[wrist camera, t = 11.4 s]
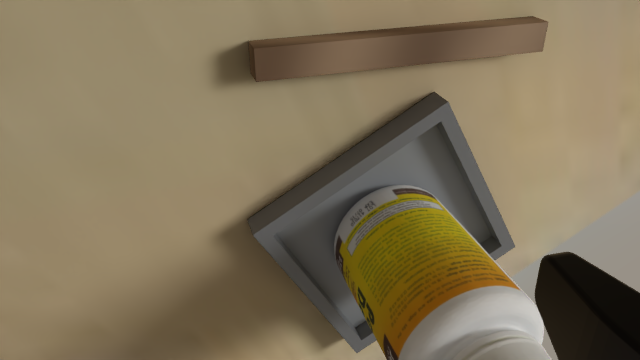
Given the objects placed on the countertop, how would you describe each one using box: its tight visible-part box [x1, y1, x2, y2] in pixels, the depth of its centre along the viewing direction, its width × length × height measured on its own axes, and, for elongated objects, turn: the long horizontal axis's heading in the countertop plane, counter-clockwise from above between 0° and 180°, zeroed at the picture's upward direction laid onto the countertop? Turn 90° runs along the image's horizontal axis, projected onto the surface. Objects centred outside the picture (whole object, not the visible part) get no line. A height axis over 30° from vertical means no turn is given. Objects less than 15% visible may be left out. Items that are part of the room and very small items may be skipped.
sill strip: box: [249, 16, 548, 82], centre depth 21 cm, size 12×1×1 cm, turn 91°
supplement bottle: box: [334, 185, 552, 360], centre depth 22 cm, size 6×6×10 cm
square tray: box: [247, 92, 515, 353], centre depth 26 cm, size 10×10×1 cm
